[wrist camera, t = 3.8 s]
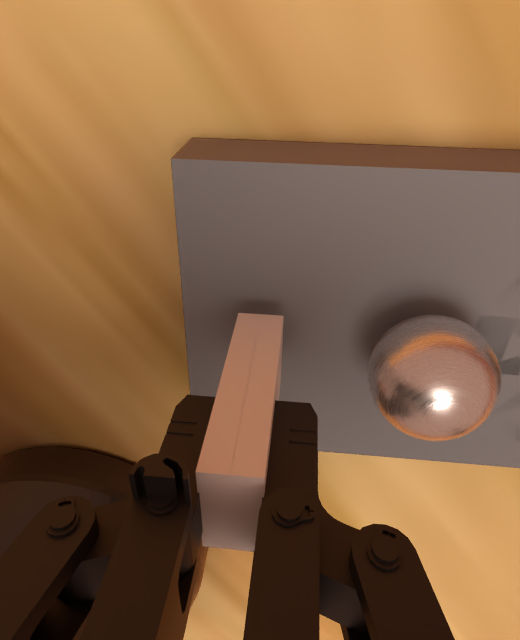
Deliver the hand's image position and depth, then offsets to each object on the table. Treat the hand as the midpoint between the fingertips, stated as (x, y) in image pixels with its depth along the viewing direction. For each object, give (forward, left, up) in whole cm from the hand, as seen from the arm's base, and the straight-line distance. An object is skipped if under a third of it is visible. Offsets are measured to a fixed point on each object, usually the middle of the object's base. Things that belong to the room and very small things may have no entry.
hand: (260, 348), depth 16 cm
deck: (+7, 0, -4) cm, 8 cm away
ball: (+6, 0, +1) cm, 6 cm away
